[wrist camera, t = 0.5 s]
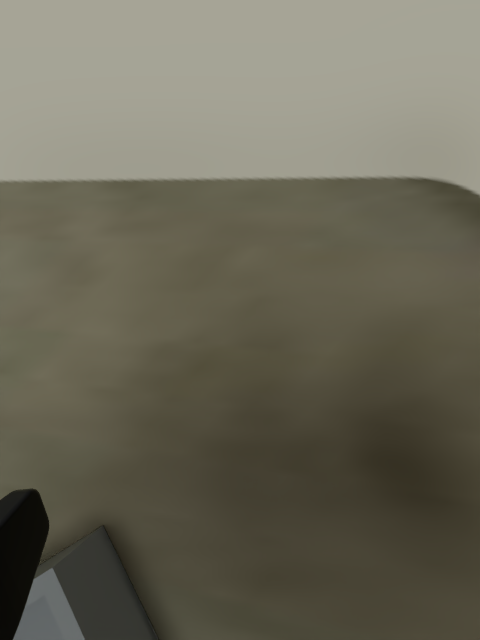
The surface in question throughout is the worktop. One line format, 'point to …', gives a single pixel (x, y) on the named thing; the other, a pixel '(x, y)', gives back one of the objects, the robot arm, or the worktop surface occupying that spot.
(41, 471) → the worktop surface
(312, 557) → the worktop surface
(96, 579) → the tote
